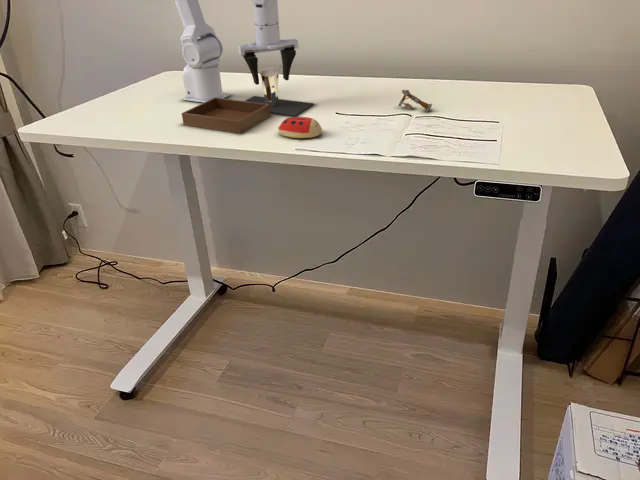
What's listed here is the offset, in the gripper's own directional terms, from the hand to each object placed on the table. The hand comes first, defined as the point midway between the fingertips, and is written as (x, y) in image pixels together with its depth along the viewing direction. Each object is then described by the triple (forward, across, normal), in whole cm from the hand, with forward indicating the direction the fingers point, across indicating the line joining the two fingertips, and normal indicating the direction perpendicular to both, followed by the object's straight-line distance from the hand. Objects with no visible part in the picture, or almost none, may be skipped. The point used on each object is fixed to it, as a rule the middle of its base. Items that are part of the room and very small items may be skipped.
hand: (271, 81), depth 139 cm
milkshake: (+6, 0, 0) cm, 6 cm away
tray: (+6, -13, -5) cm, 15 cm away
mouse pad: (+6, 0, 0) cm, 6 cm away
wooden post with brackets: (+7, +30, -19) cm, 36 cm away
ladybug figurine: (+7, -1, -22) cm, 23 cm away
